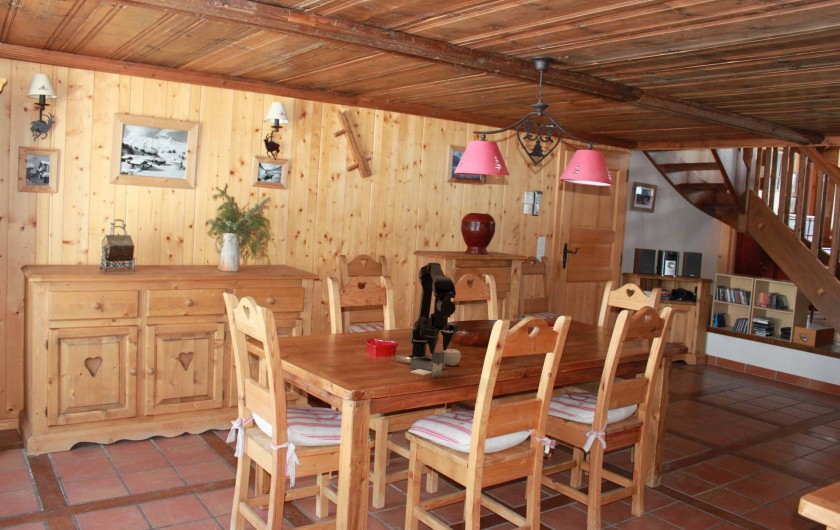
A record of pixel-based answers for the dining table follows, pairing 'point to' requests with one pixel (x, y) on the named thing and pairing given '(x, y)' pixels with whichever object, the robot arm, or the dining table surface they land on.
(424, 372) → the pad
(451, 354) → the apple
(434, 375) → the dark square post
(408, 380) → the dining table surface
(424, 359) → the block
